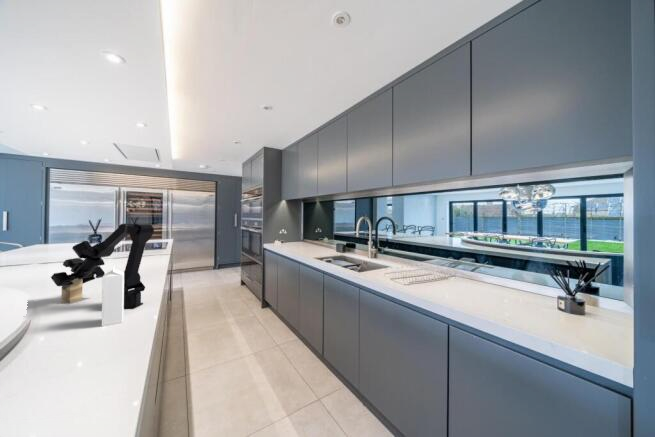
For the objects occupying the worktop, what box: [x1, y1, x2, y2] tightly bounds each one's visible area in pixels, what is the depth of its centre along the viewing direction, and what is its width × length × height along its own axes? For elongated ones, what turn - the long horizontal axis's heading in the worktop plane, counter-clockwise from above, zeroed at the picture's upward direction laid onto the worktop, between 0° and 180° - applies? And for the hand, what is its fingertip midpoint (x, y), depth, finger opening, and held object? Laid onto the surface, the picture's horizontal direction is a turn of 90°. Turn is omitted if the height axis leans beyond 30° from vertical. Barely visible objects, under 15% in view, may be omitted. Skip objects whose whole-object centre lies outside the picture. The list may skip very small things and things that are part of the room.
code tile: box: [53, 297, 91, 306], centre depth 116 cm, size 10×9×1 cm
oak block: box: [60, 273, 84, 303], centre depth 116 cm, size 5×5×12 cm
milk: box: [101, 265, 125, 327], centre depth 94 cm, size 6×6×22 cm
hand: (69, 286), depth 116 cm, fingers closed on oak block, 5 cm apart
